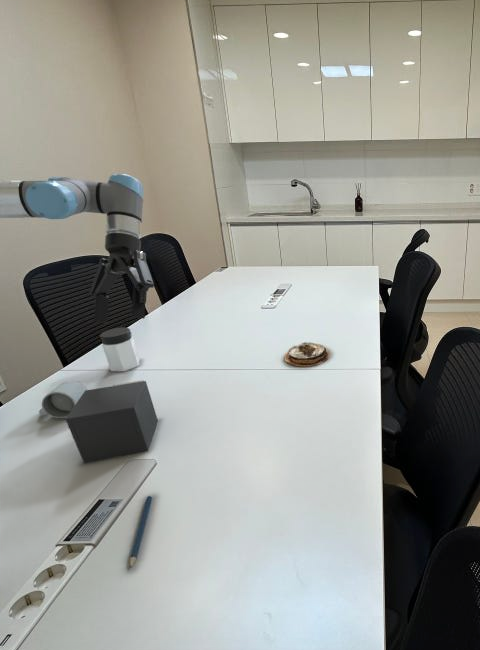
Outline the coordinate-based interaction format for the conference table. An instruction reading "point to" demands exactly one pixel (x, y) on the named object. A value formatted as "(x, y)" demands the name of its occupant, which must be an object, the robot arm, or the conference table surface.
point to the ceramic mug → (62, 399)
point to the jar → (120, 349)
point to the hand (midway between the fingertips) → (119, 320)
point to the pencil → (140, 531)
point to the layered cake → (307, 354)
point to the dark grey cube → (113, 421)
